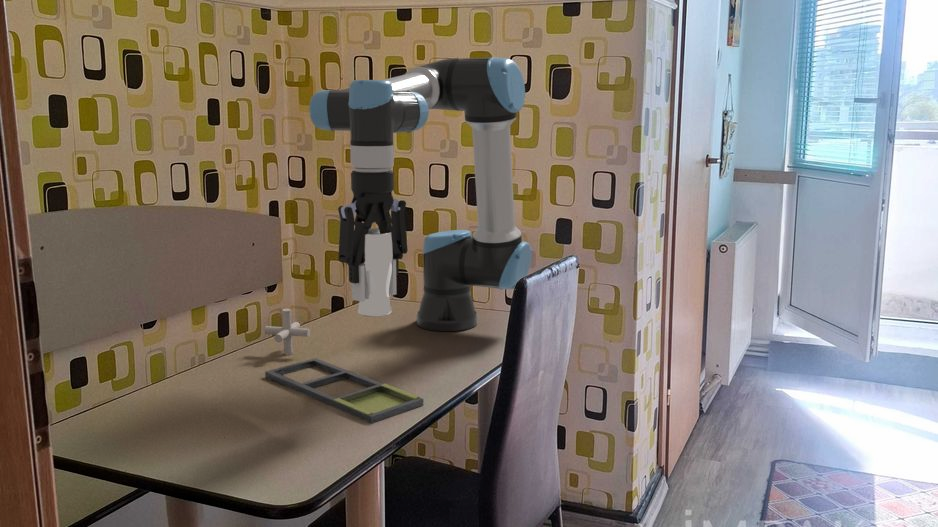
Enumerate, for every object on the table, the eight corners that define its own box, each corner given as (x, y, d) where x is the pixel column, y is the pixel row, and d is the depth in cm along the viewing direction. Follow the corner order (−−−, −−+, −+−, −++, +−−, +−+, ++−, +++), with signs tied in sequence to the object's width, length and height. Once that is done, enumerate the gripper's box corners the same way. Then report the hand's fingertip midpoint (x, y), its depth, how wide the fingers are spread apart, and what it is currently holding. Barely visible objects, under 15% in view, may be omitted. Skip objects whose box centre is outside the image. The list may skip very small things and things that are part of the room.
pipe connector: (300, 362, 184) (299, 317, 182) (257, 359, 186) (255, 314, 184) (318, 348, 194) (316, 305, 192) (276, 345, 196) (274, 302, 194)
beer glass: (369, 306, 161) (368, 226, 158) (401, 310, 158) (400, 230, 155) (347, 314, 155) (346, 232, 152) (380, 319, 152) (379, 235, 149)
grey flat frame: (315, 363, 183) (315, 357, 183) (423, 405, 160) (423, 397, 160) (265, 377, 175) (265, 370, 174) (371, 423, 151) (371, 415, 151)
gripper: (400, 164, 160) (401, 284, 165) (313, 171, 147) (317, 302, 151) (427, 167, 155) (428, 291, 160) (340, 175, 141) (343, 310, 146)
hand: (374, 296), depth 156 cm, fingers closed on beer glass, 7 cm apart
